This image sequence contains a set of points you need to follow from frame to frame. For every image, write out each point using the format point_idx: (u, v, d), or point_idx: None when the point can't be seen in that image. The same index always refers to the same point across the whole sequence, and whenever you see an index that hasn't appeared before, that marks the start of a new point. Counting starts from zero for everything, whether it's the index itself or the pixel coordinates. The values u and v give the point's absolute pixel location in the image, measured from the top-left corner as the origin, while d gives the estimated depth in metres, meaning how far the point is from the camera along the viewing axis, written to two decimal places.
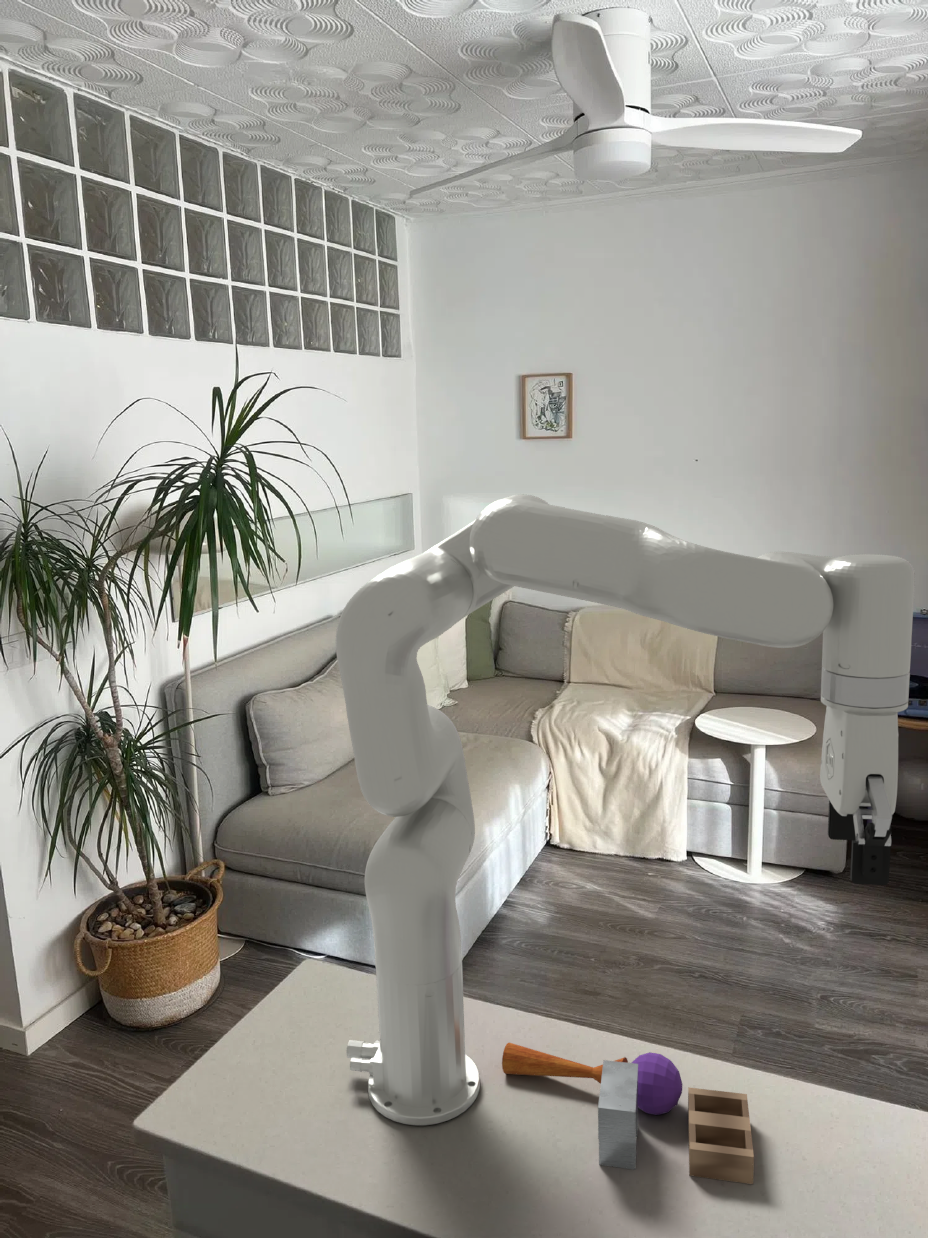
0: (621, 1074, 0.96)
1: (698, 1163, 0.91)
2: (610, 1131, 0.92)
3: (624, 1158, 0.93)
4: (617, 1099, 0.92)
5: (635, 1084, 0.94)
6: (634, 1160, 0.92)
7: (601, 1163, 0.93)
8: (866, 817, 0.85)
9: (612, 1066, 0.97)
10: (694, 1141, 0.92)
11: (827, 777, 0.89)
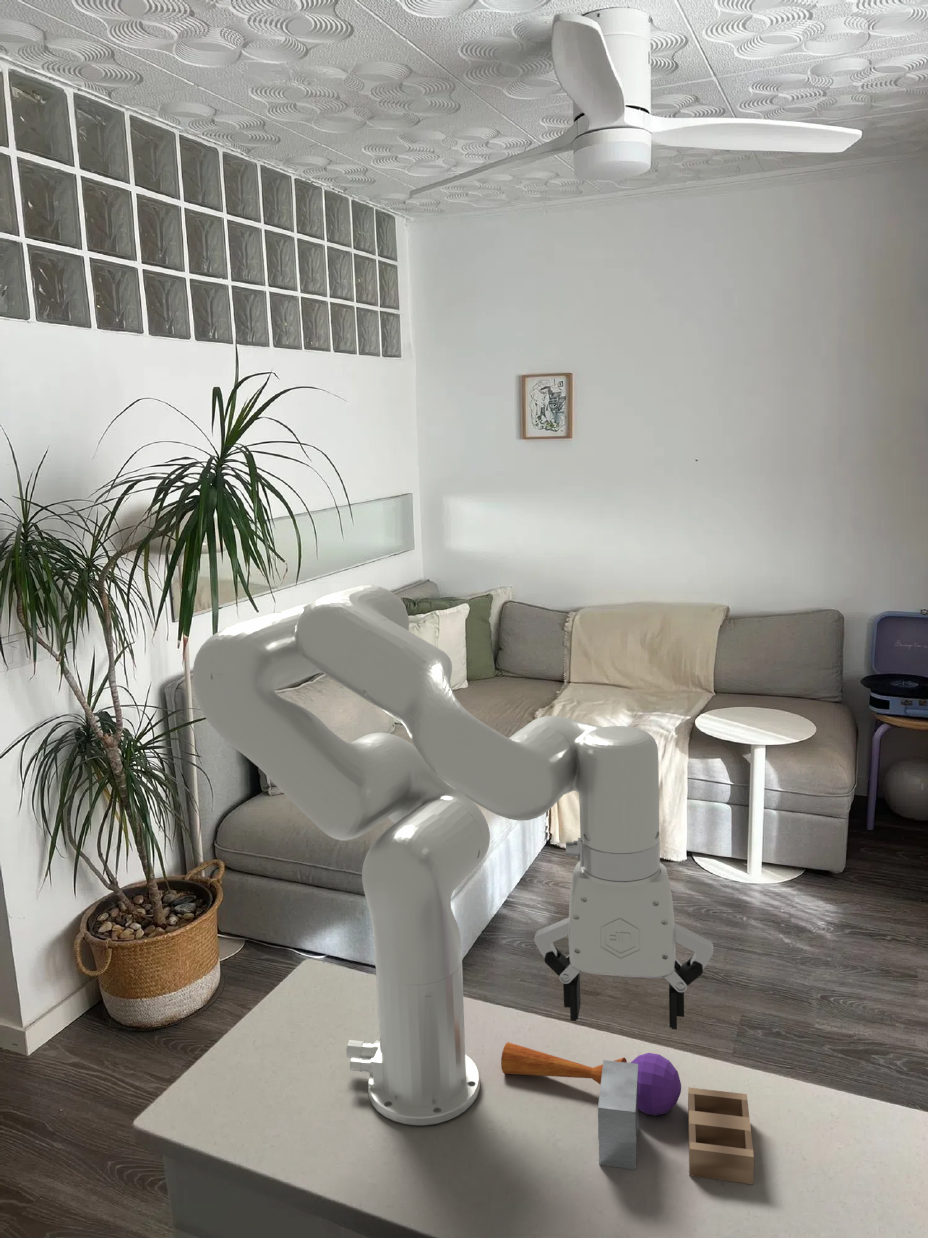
0: (621, 1074, 0.96)
1: (698, 1163, 0.91)
2: (610, 1131, 0.92)
3: (624, 1158, 0.93)
4: (617, 1099, 0.92)
5: (635, 1084, 0.94)
6: (634, 1160, 0.92)
7: (601, 1163, 0.93)
8: None
9: (612, 1066, 0.97)
10: (694, 1141, 0.92)
11: (615, 957, 0.89)
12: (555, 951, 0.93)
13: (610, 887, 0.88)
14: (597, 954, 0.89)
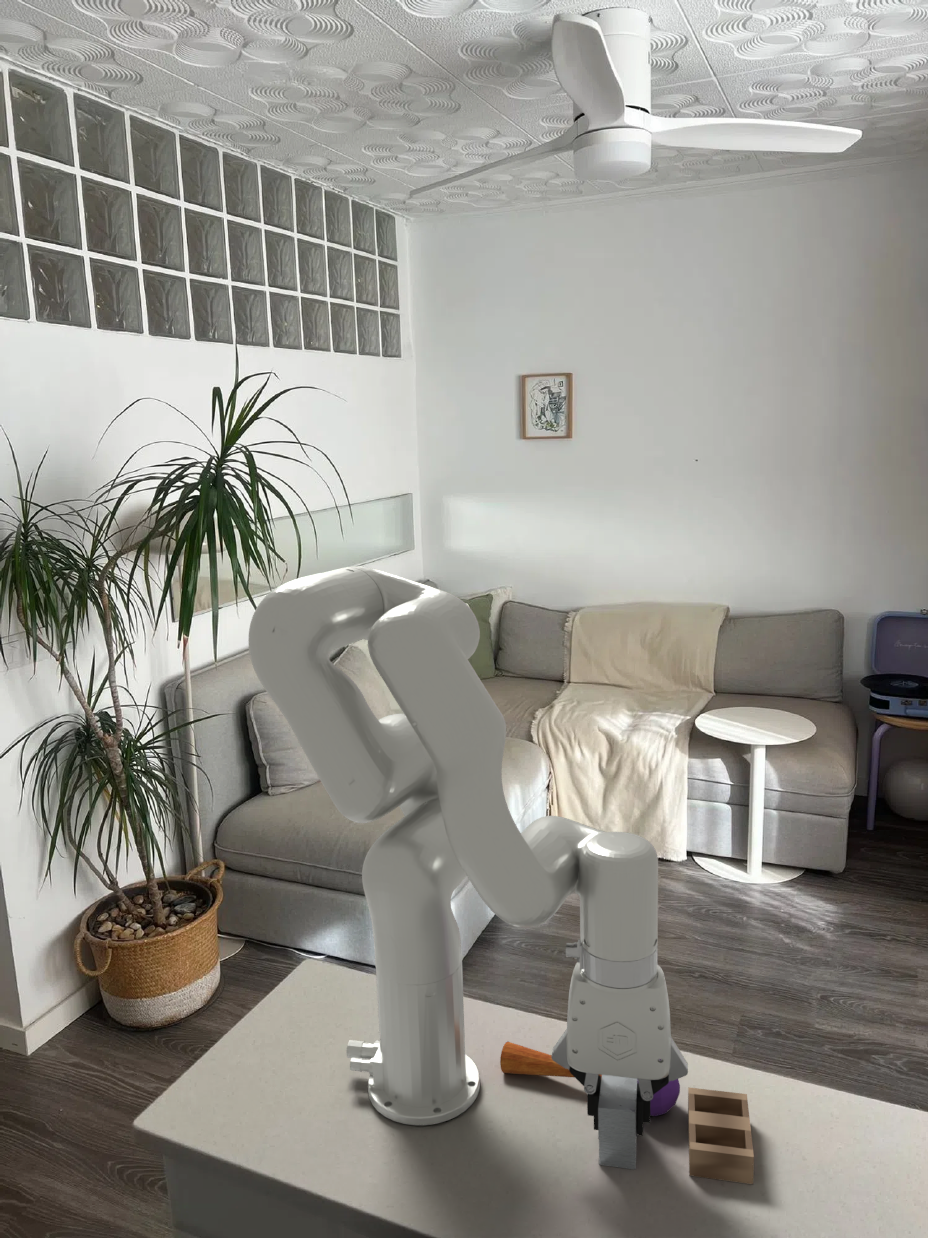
0: None
1: (698, 1163, 0.91)
2: (610, 1131, 0.92)
3: (624, 1158, 0.93)
4: (617, 1099, 0.92)
5: (635, 1084, 0.94)
6: (634, 1160, 0.92)
7: (601, 1163, 0.93)
8: None
9: None
10: (694, 1141, 0.92)
11: (612, 1058, 0.91)
12: None
13: (608, 992, 0.90)
14: (594, 1055, 0.91)
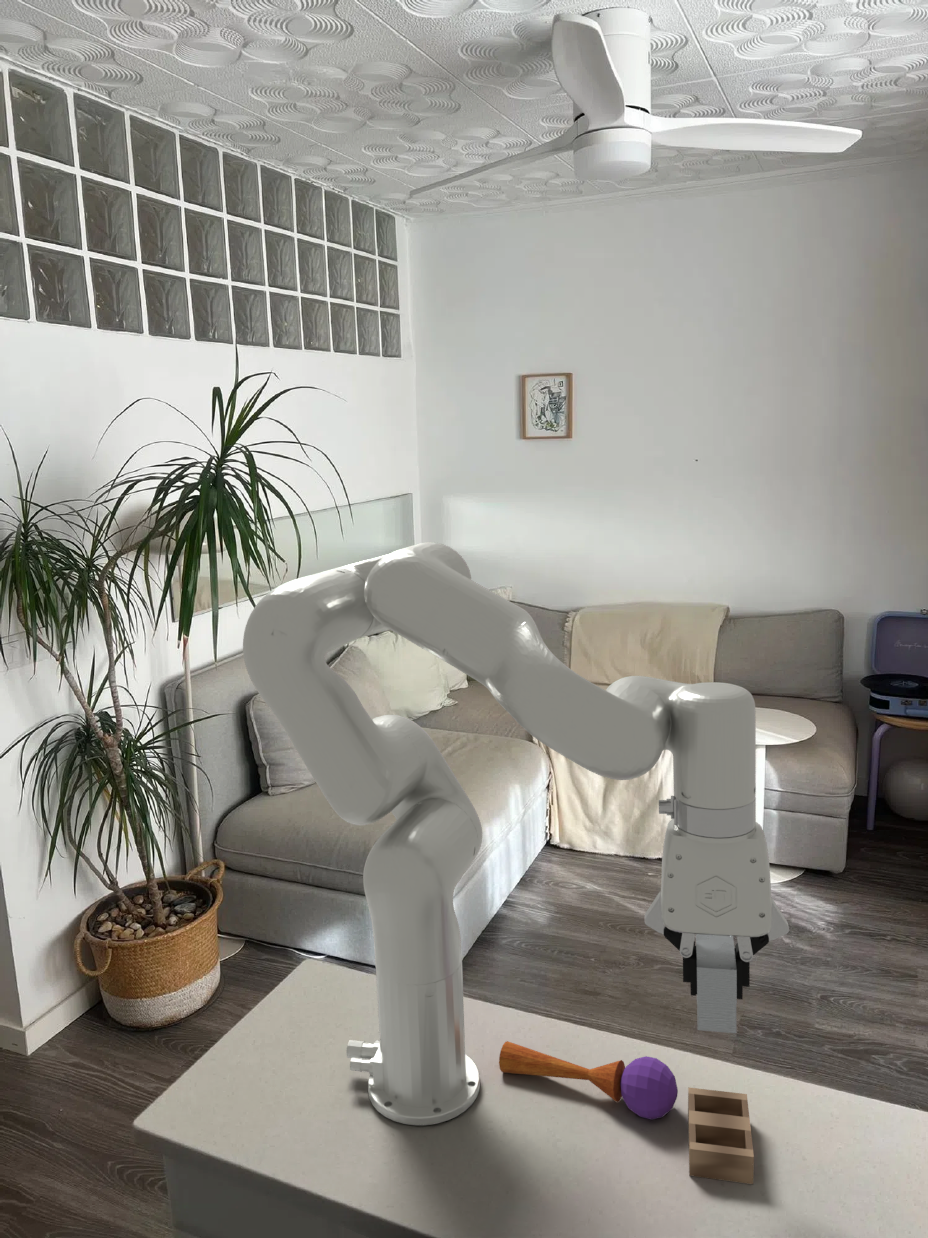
0: (716, 940, 0.93)
1: (698, 1163, 0.91)
2: (710, 992, 0.88)
3: (724, 1021, 0.89)
4: (716, 960, 0.89)
5: (732, 947, 0.91)
6: (735, 1023, 0.89)
7: (700, 1028, 0.90)
8: None
9: None
10: (694, 1141, 0.92)
11: (710, 915, 0.88)
12: None
13: (706, 844, 0.87)
14: (692, 913, 0.88)
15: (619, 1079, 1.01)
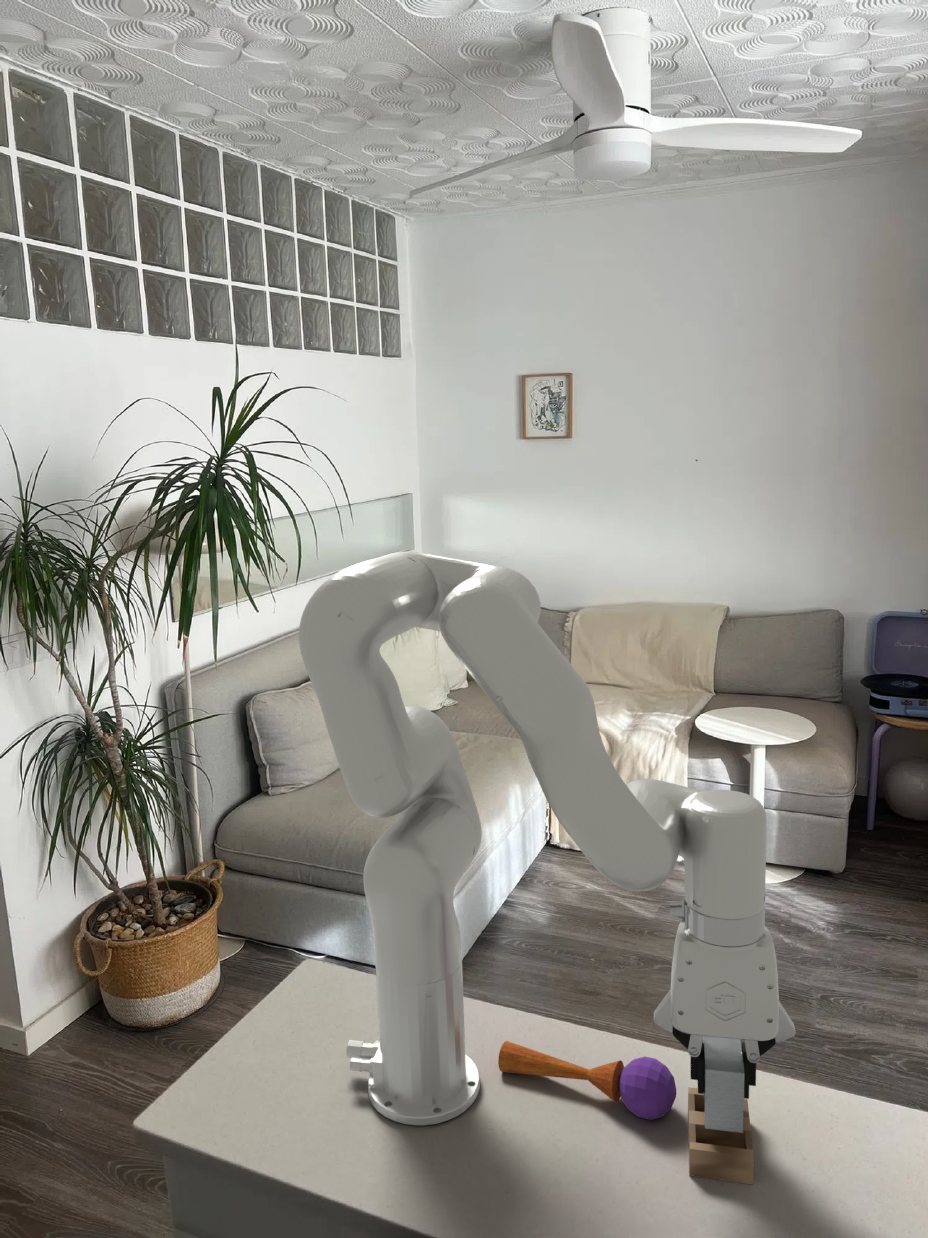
0: None
1: (698, 1163, 0.91)
2: (718, 1093, 0.90)
3: (731, 1121, 0.91)
4: (724, 1061, 0.91)
5: (739, 1047, 0.93)
6: (741, 1123, 0.91)
7: (707, 1127, 0.92)
8: None
9: None
10: (694, 1141, 0.92)
11: (719, 1019, 0.90)
12: None
13: (716, 951, 0.89)
14: (701, 1016, 0.90)
15: (618, 1079, 1.01)
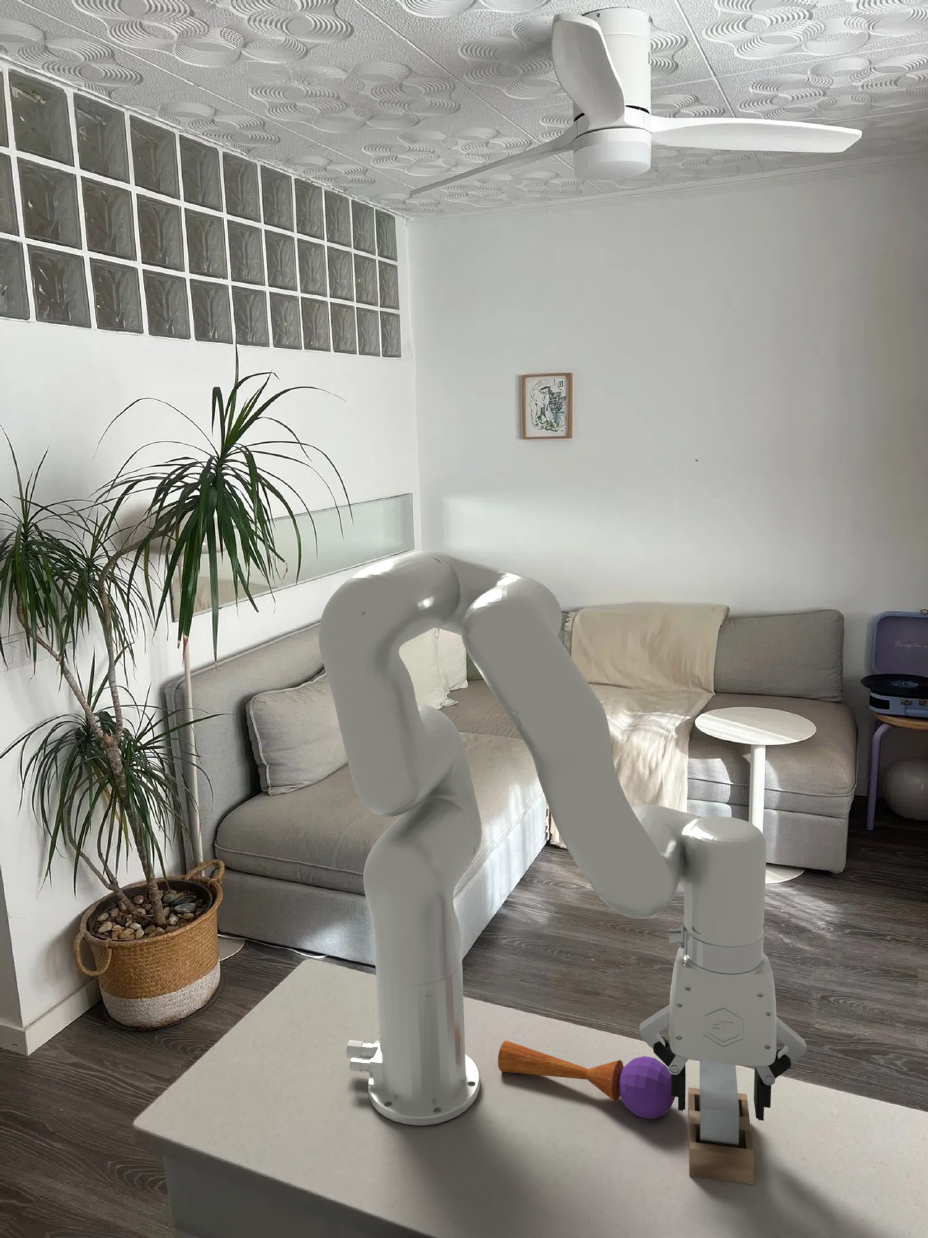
0: (720, 1075, 0.96)
1: (698, 1163, 0.91)
2: (713, 1132, 0.91)
3: None
4: (719, 1100, 0.92)
5: (735, 1085, 0.94)
6: None
7: None
8: None
9: (709, 1066, 0.97)
10: (694, 1141, 0.92)
11: (717, 1045, 0.90)
12: (663, 1041, 0.94)
13: (715, 978, 0.89)
14: (699, 1042, 0.91)
15: (617, 1079, 1.01)
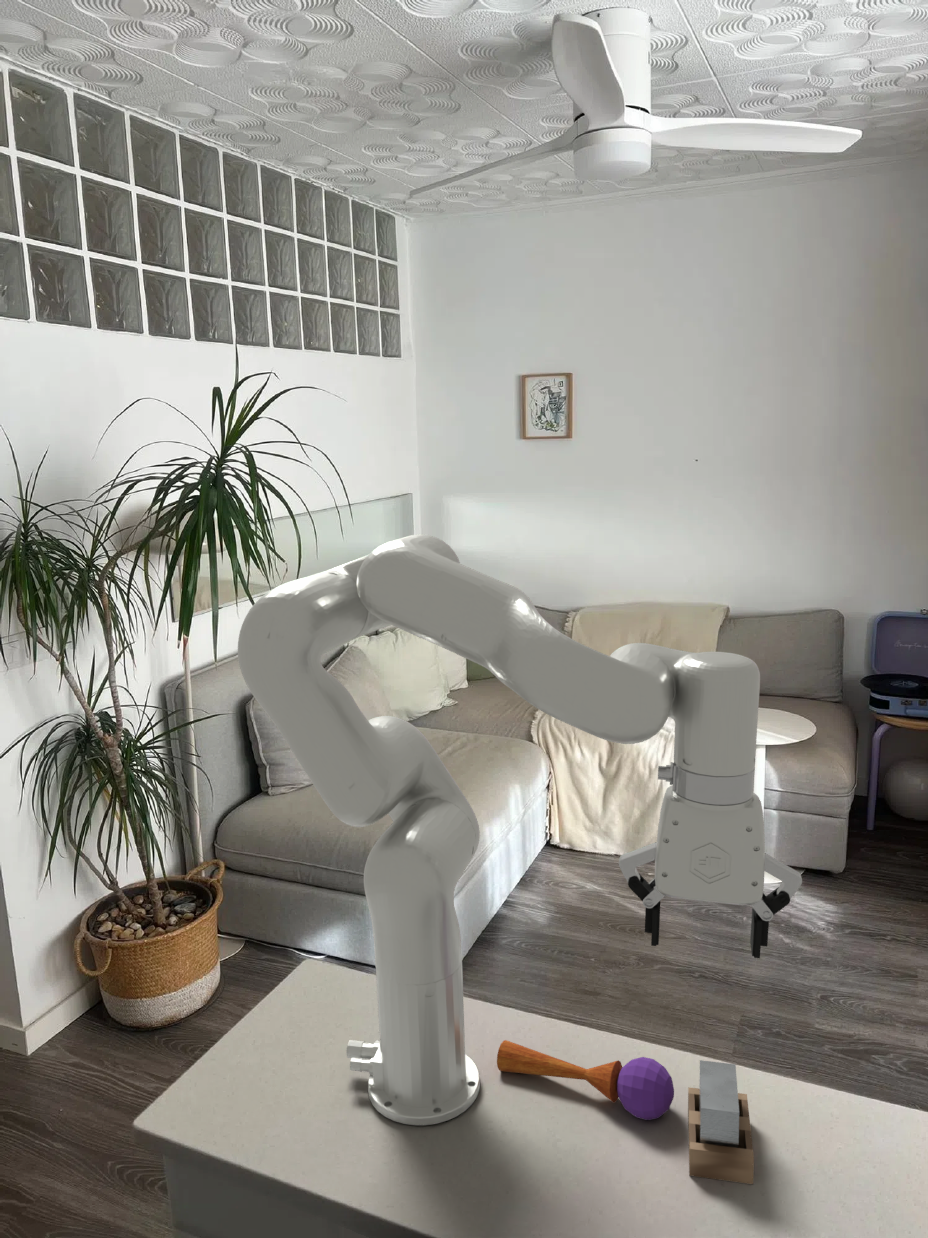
0: (720, 1075, 0.96)
1: (698, 1163, 0.91)
2: (713, 1132, 0.91)
3: None
4: (719, 1100, 0.92)
5: (735, 1085, 0.94)
6: None
7: None
8: None
9: (709, 1066, 0.97)
10: (694, 1141, 0.92)
11: (703, 881, 0.88)
12: (639, 876, 0.93)
13: (703, 811, 0.87)
14: (685, 878, 0.89)
15: (616, 1079, 1.01)
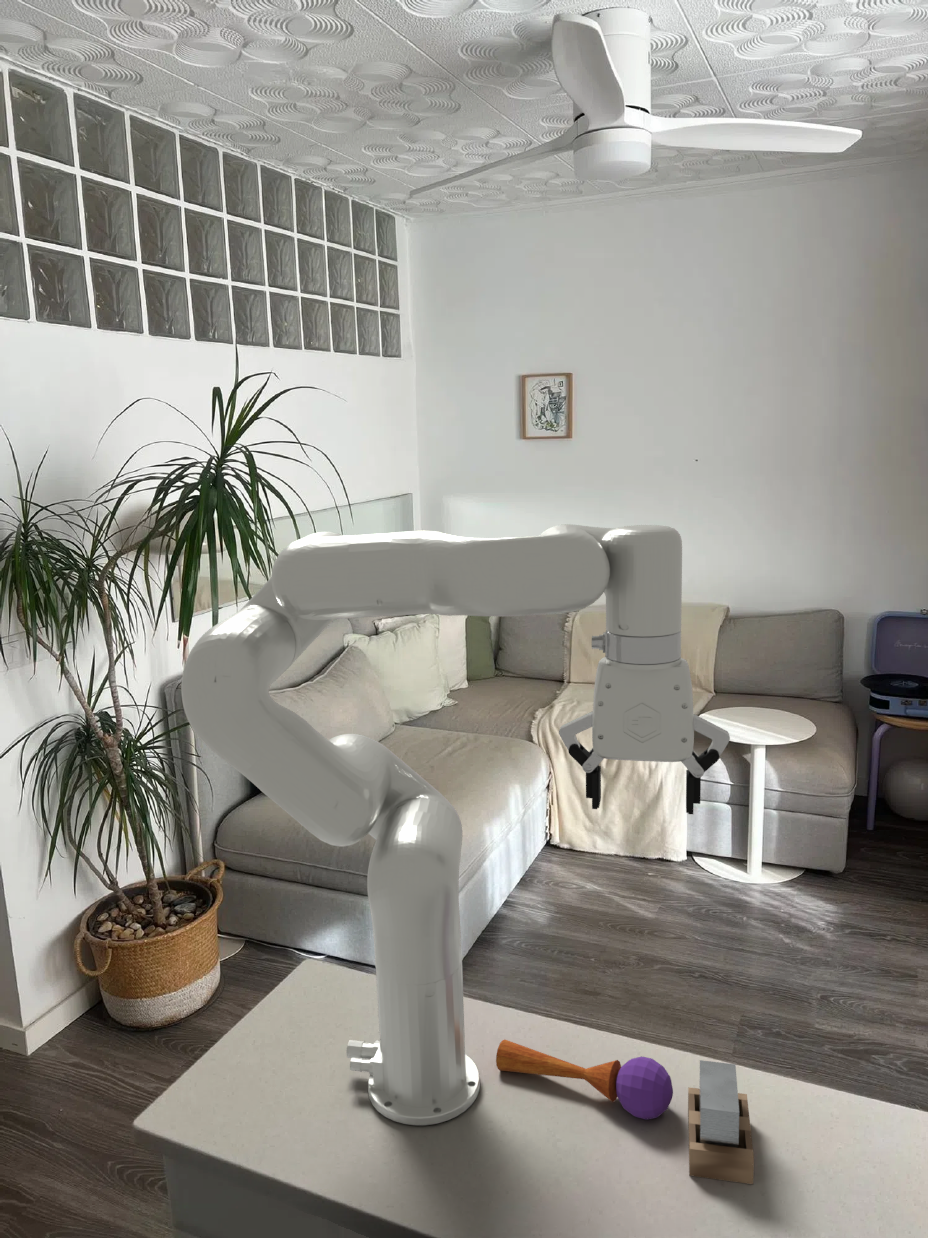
0: (720, 1075, 0.96)
1: (698, 1163, 0.91)
2: (713, 1132, 0.91)
3: None
4: (719, 1100, 0.92)
5: (735, 1085, 0.94)
6: None
7: None
8: None
9: (709, 1066, 0.97)
10: (694, 1141, 0.92)
11: (637, 741, 0.94)
12: (578, 744, 0.98)
13: (634, 673, 0.93)
14: (619, 739, 0.94)
15: (615, 1079, 1.01)
